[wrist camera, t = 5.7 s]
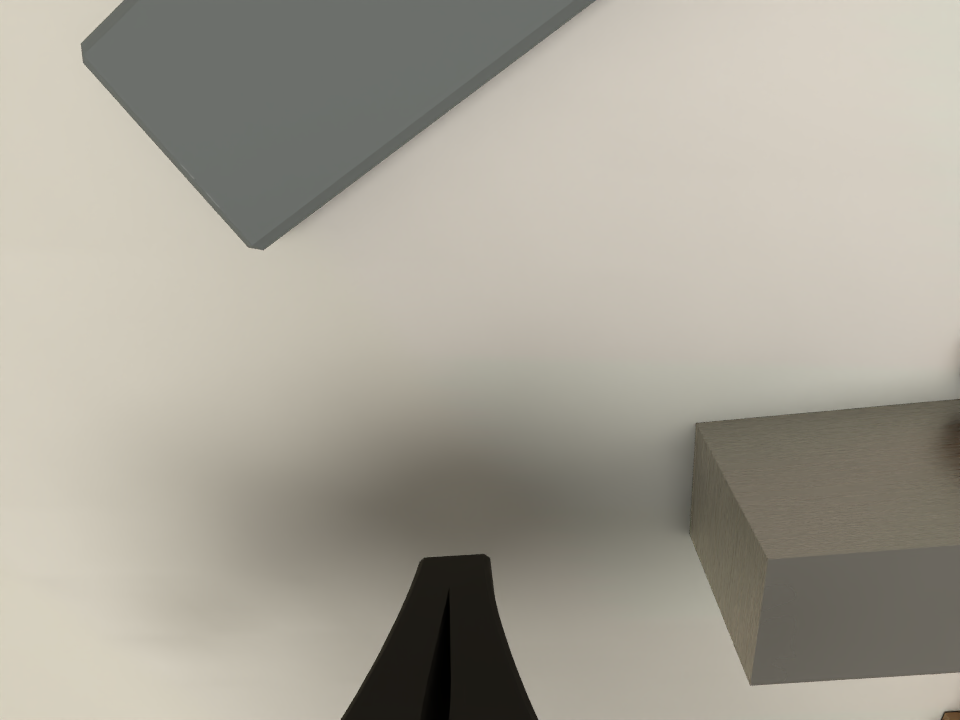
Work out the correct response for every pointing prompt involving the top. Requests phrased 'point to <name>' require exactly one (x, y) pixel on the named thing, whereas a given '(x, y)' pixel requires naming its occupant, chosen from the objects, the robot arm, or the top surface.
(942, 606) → the block
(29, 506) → the top surface
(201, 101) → the bracket
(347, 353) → the top surface
